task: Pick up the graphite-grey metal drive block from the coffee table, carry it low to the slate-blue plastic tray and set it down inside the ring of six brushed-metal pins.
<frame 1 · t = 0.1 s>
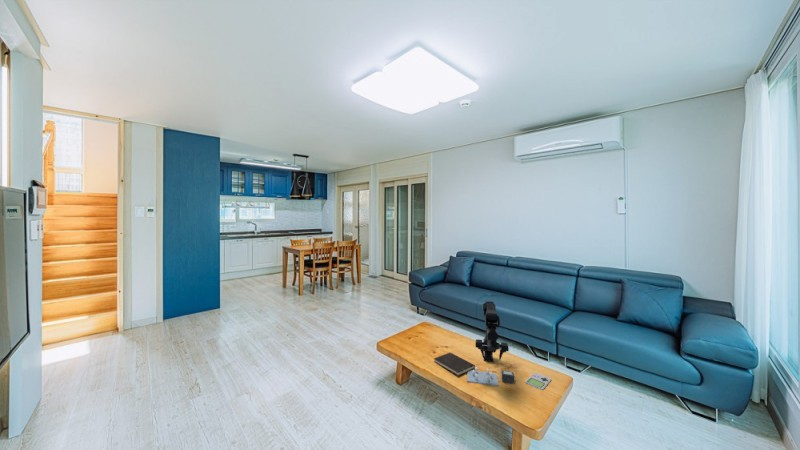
hand: (491, 359, 167), 15 cm above the table, fingers open, 9 cm apart
handheld gaming console: (538, 382, 169), on the table
hardcover book: (454, 365, 187), on the table, touching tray
drive: (507, 381, 169), on the table
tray: (482, 378, 172), on the table
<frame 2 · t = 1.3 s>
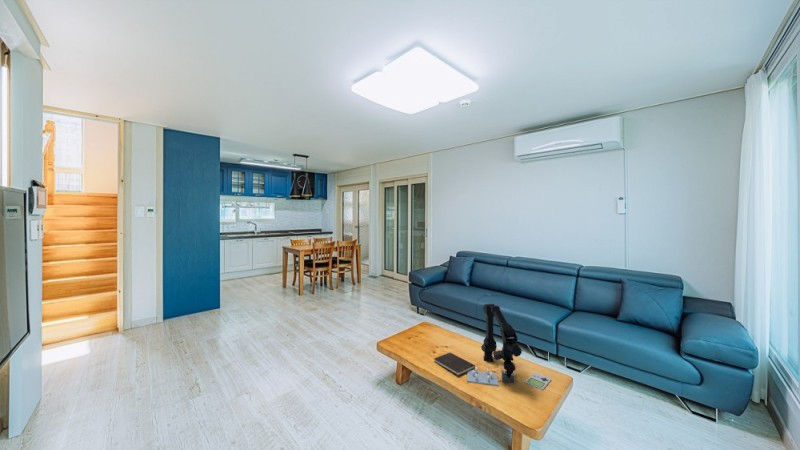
hand: (507, 373, 169), 5 cm above the table, fingers open, 9 cm apart
nothing on the table moved.
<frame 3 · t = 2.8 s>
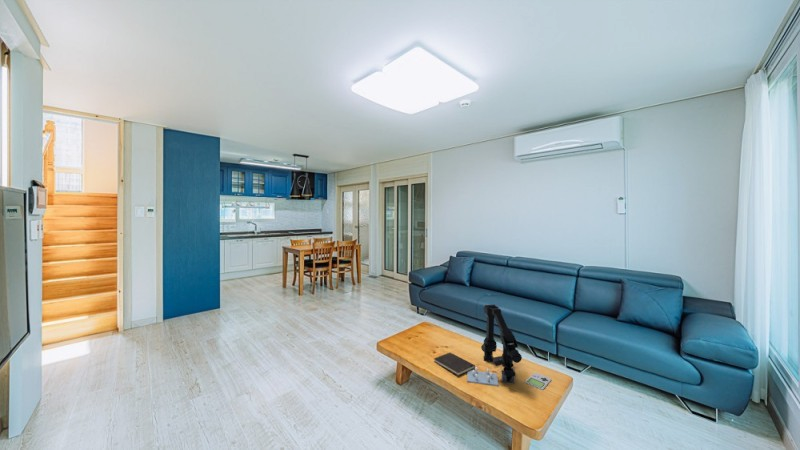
hand: (507, 379, 169), 1 cm above the table, fingers closed on drive, 4 cm apart
drive: (507, 381, 169), on the table, touching gripper
everything else where it was.
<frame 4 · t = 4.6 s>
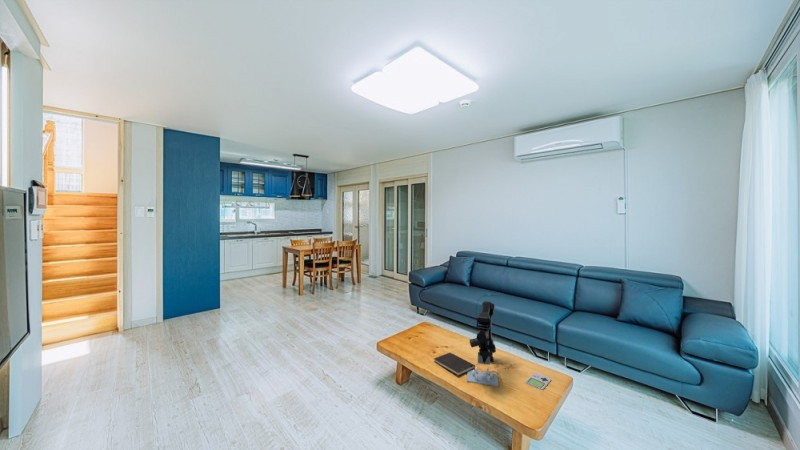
hand: (483, 360, 172), 11 cm above the table, fingers closed on drive, 4 cm apart
drive: (483, 362, 172), point 10 cm above the table, touching gripper
everything else where it was.
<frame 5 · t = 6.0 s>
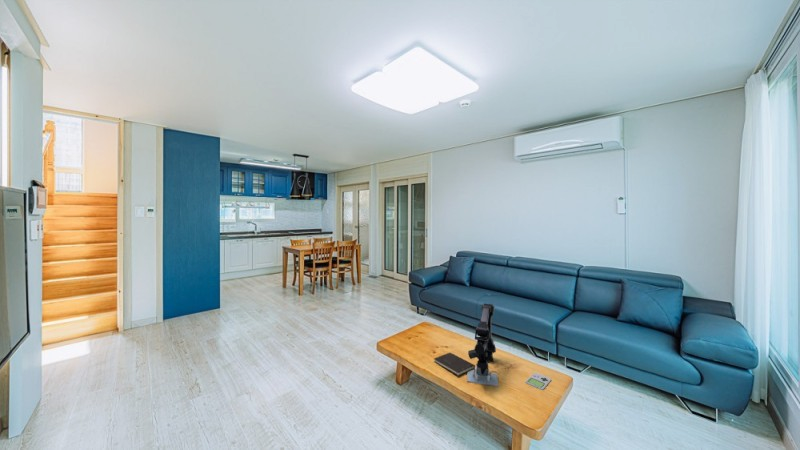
hand: (482, 371, 172), 4 cm above the table, fingers closed on drive, 4 cm apart
drive: (482, 373, 172), point 3 cm above the table, touching gripper
everything else where it was.
when the fingers open (4 cm above the table, at t = 6.8 s): drive drops 2 cm, resting on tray.
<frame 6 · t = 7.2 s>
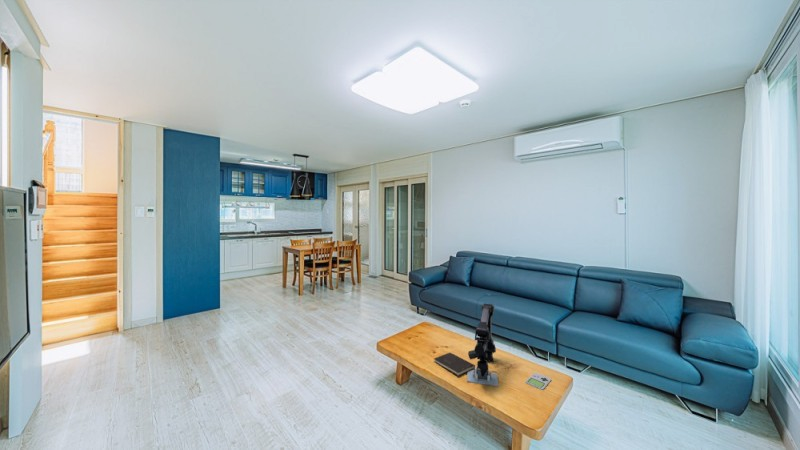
hand: (482, 372, 172), 4 cm above the table, fingers open, 8 cm apart
drive: (482, 377, 172), point 1 cm above the table, touching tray
everything else where it was.
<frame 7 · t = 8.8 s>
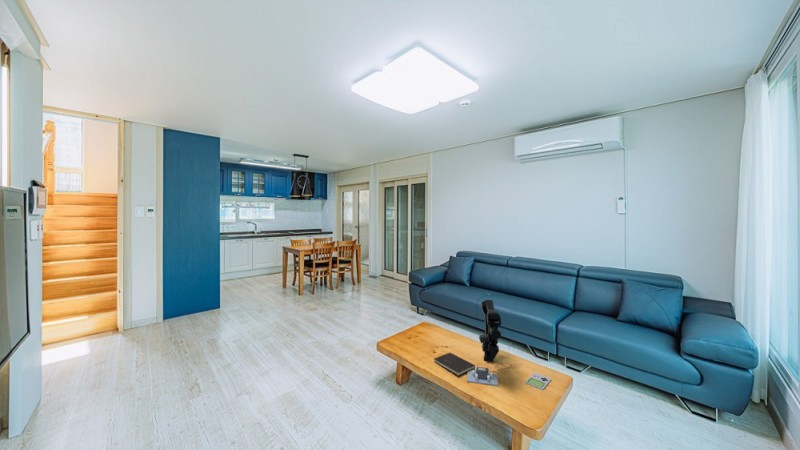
hand: (492, 355, 177), 12 cm above the table, fingers open, 9 cm apart
nothing on the table moved.
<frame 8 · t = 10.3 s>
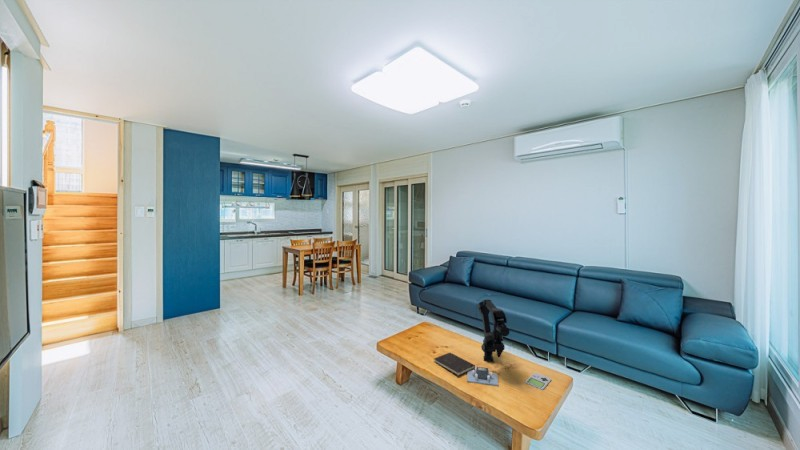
hand: (497, 353, 179), 12 cm above the table, fingers open, 9 cm apart
nothing on the table moved.
at the end: drive 0.0 cm off-centre on the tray, point 0.8 cm above the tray's base; drive tilted 0°; the gripper is holding nothing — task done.
